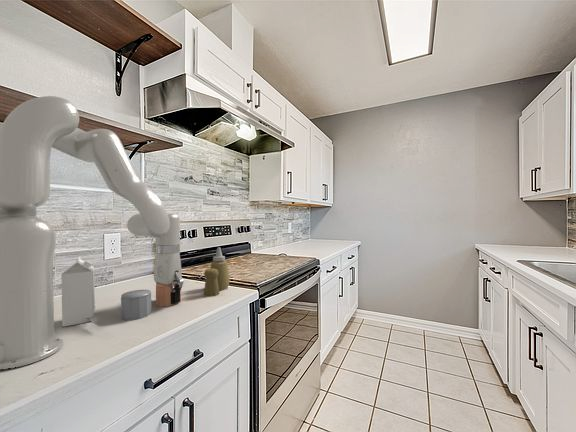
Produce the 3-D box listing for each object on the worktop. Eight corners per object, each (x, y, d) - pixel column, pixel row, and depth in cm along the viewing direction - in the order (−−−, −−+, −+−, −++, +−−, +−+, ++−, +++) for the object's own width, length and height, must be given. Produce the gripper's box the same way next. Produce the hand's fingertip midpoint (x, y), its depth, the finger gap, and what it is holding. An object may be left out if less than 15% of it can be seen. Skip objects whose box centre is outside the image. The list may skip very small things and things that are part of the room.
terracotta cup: (163, 311, 86) (163, 287, 86) (151, 307, 90) (151, 283, 90) (185, 305, 92) (185, 282, 92) (172, 301, 97) (172, 279, 97)
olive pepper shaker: (199, 299, 99) (199, 269, 98) (211, 294, 104) (211, 266, 104) (212, 301, 96) (211, 271, 96) (223, 297, 101) (223, 268, 101)
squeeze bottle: (205, 291, 108) (205, 247, 108) (223, 287, 114) (223, 245, 113) (214, 296, 102) (214, 249, 102) (233, 291, 108) (232, 247, 107)
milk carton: (62, 327, 75) (60, 260, 75) (66, 319, 81) (65, 257, 81) (93, 321, 79) (92, 257, 79) (95, 314, 85) (94, 254, 85)
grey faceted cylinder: (129, 327, 75) (128, 299, 74) (117, 321, 79) (116, 294, 79) (156, 318, 81) (155, 292, 81) (143, 313, 85) (143, 288, 85)
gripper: (144, 249, 93) (144, 299, 93) (172, 252, 83) (172, 309, 83) (164, 246, 99) (165, 294, 99) (193, 250, 89) (193, 302, 89)
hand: (168, 300), depth 91 cm, fingers closed on terracotta cup, 7 cm apart
